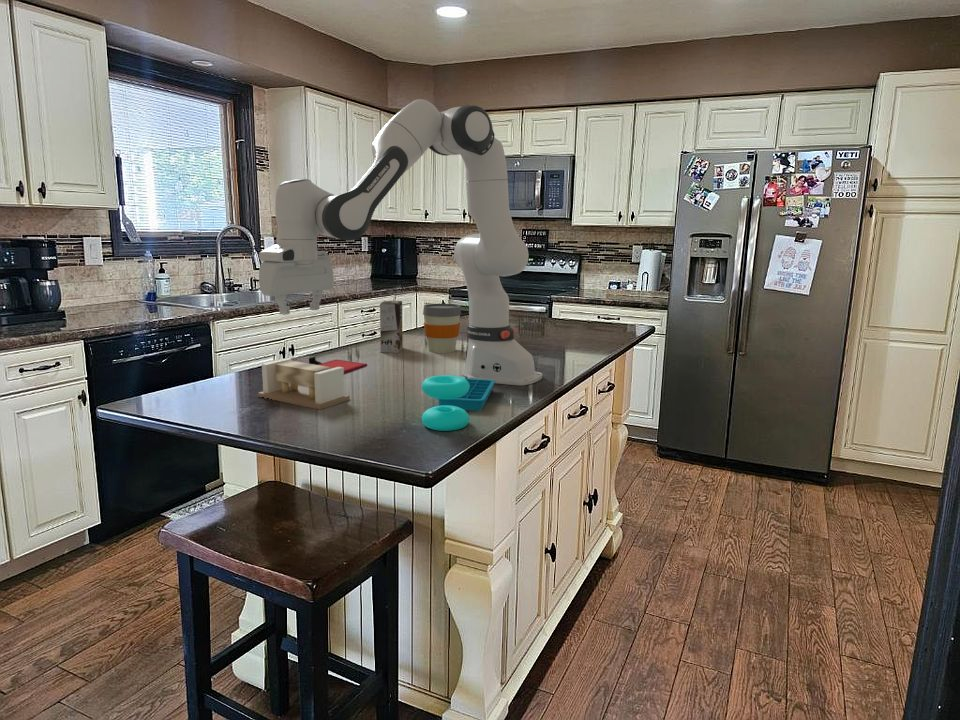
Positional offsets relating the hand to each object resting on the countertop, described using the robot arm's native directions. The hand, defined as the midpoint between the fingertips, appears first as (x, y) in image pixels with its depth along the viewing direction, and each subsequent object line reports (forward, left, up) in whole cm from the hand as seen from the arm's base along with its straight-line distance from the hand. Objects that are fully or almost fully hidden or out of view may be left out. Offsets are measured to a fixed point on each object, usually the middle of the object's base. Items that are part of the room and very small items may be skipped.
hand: (300, 312), depth 149 cm
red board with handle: (+16, -20, -22) cm, 34 cm away
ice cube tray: (-33, -21, -21) cm, 45 cm away
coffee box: (+19, -59, -21) cm, 65 cm away
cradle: (0, 0, -21) cm, 21 cm away
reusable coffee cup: (+5, -68, -21) cm, 71 cm away
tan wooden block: (0, 0, -17) cm, 17 cm away
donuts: (-40, -1, -21) cm, 45 cm away
